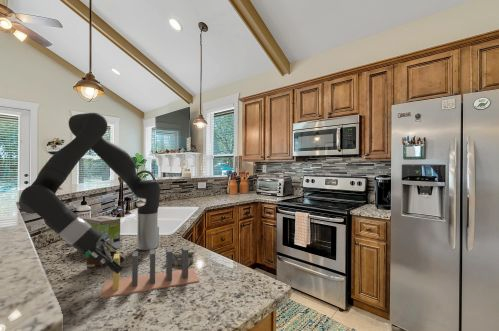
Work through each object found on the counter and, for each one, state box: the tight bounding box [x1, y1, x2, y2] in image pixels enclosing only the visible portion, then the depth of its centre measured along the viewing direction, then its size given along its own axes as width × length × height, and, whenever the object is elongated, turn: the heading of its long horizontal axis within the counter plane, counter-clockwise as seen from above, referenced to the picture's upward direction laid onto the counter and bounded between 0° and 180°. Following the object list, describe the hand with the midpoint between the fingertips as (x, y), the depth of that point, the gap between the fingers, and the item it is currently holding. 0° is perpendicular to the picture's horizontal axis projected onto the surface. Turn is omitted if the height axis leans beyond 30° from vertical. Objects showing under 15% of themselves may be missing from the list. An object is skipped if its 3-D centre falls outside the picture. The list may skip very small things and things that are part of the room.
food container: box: [85, 236, 114, 270], centre depth 103 cm, size 12×6×10 cm, turn 168°
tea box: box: [85, 215, 121, 250], centre depth 124 cm, size 15×10×15 cm, turn 58°
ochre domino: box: [112, 252, 121, 290], centre depth 83 cm, size 2×5×10 cm, turn 23°
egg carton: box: [172, 251, 195, 267], centre depth 106 cm, size 11×8×4 cm
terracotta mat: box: [99, 267, 200, 299], centre depth 87 cm, size 30×12×1 cm, turn 113°
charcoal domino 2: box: [149, 248, 156, 284], centre depth 87 cm, size 2×5×10 cm, turn 22°
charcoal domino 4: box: [181, 245, 189, 279], centre depth 92 cm, size 2×5×10 cm, turn 23°
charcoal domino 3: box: [165, 247, 173, 281], centre depth 90 cm, size 2×5×10 cm, turn 23°
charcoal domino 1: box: [131, 250, 139, 287], centre depth 85 cm, size 2×5×10 cm, turn 23°
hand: (121, 266), depth 84 cm, fingers open, 8 cm apart
